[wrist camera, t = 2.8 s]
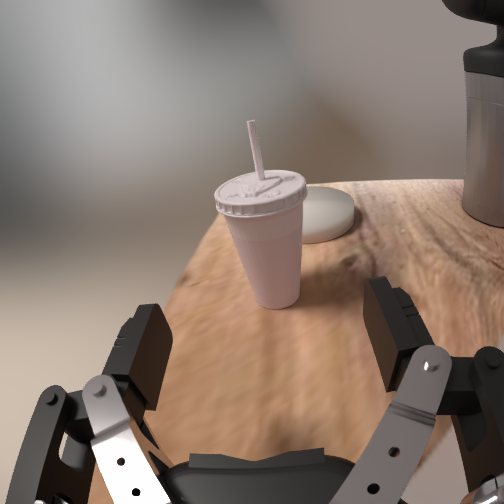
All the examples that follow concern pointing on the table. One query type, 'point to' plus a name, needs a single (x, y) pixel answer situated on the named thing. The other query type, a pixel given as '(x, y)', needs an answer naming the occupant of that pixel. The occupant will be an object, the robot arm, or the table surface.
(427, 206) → the table surface
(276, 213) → the smoothie
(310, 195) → the trivet
